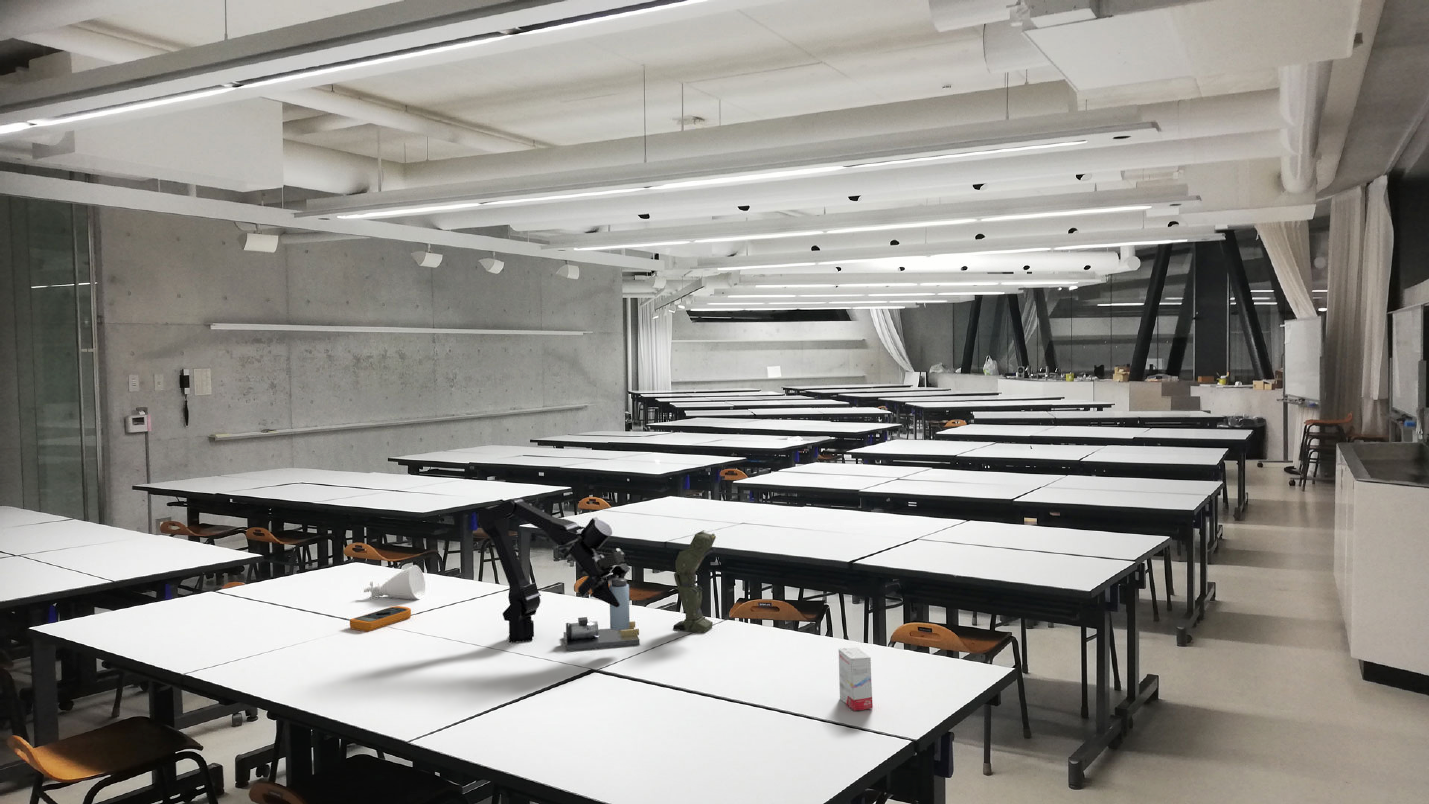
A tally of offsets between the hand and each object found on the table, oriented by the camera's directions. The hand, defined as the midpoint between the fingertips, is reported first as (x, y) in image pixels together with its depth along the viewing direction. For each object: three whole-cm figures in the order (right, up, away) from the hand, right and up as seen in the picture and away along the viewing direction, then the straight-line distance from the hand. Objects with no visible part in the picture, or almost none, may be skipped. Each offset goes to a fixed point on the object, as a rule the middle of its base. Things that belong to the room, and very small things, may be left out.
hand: (623, 603), depth 250 cm
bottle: (-1, -7, +1) cm, 7 cm away
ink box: (+56, -14, -39) cm, 70 cm away
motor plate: (-8, -13, +12) cm, 19 cm away
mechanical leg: (+19, -12, +22) cm, 31 cm away
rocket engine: (-83, -12, +66) cm, 107 cm away
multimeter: (-77, -14, +34) cm, 85 cm away
